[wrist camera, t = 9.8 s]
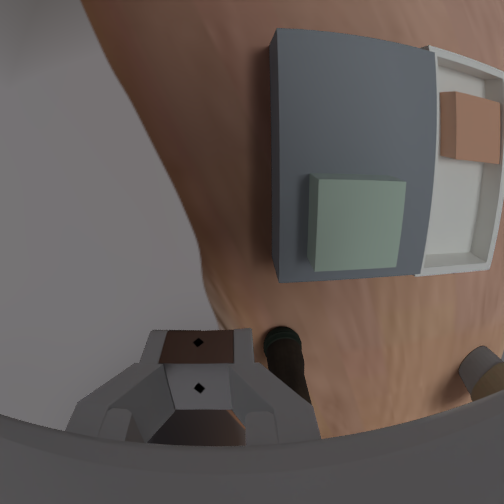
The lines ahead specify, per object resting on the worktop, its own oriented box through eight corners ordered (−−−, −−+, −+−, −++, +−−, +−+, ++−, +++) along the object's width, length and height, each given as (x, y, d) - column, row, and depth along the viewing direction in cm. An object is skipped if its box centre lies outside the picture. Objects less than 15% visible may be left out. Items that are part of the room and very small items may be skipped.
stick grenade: (313, 369, 34) (383, 635, 6) (235, 367, 33) (246, 659, 5) (330, 304, 31) (458, 623, 3) (241, 300, 30) (265, 680, 2)
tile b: (309, 173, 21) (318, 179, 19) (389, 175, 21) (406, 181, 19) (306, 256, 23) (314, 271, 21) (382, 253, 23) (396, 267, 21)
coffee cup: (505, 336, 35) (561, 398, 21) (475, 384, 39) (519, 449, 25) (469, 334, 34) (532, 409, 20) (437, 387, 37) (482, 464, 23)
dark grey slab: (269, 45, 22) (277, 28, 17) (404, 60, 22) (434, 52, 18) (271, 256, 28) (278, 282, 24) (395, 251, 29) (420, 274, 24)
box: (408, 51, 22) (428, 45, 19) (485, 74, 22) (507, 73, 19) (398, 260, 29) (414, 276, 26) (471, 256, 30) (489, 269, 26)
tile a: (499, 102, 20) (483, 102, 23) (455, 91, 20) (439, 92, 23) (499, 164, 23) (483, 160, 25) (455, 159, 23) (440, 155, 25)
